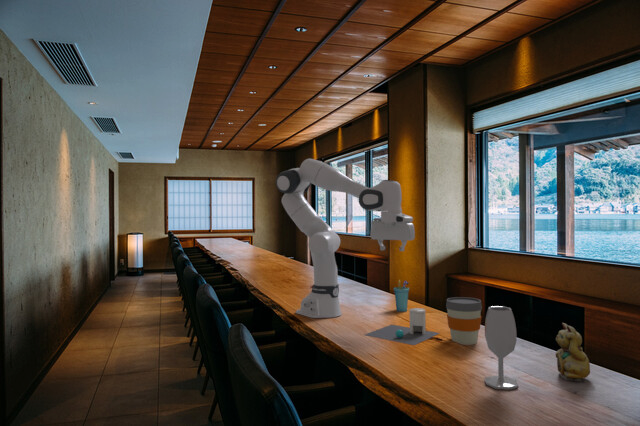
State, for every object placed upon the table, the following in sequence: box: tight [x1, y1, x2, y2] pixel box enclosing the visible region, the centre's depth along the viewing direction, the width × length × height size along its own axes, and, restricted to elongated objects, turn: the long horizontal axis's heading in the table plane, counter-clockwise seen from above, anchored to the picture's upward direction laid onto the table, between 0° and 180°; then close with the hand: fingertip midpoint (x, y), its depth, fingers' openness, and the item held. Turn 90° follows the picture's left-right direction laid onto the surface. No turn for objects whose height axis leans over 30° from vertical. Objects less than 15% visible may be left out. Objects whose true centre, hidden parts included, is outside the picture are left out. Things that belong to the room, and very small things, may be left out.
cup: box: [393, 279, 410, 313], centre depth 218 cm, size 14×8×15 cm, turn 13°
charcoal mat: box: [364, 324, 441, 346], centre depth 176 cm, size 22×20×1 cm
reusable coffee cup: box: [445, 296, 483, 346], centre depth 166 cm, size 13×13×15 cm
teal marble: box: [396, 330, 404, 338], centre depth 171 cm, size 3×3×3 cm
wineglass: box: [484, 305, 519, 391], centre depth 125 cm, size 9×9×21 cm
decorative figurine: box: [555, 322, 591, 382], centre depth 129 cm, size 10×8×15 cm
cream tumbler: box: [409, 307, 427, 335], centre depth 177 cm, size 6×6×9 cm
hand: (392, 250), depth 193 cm, fingers open, 8 cm apart
